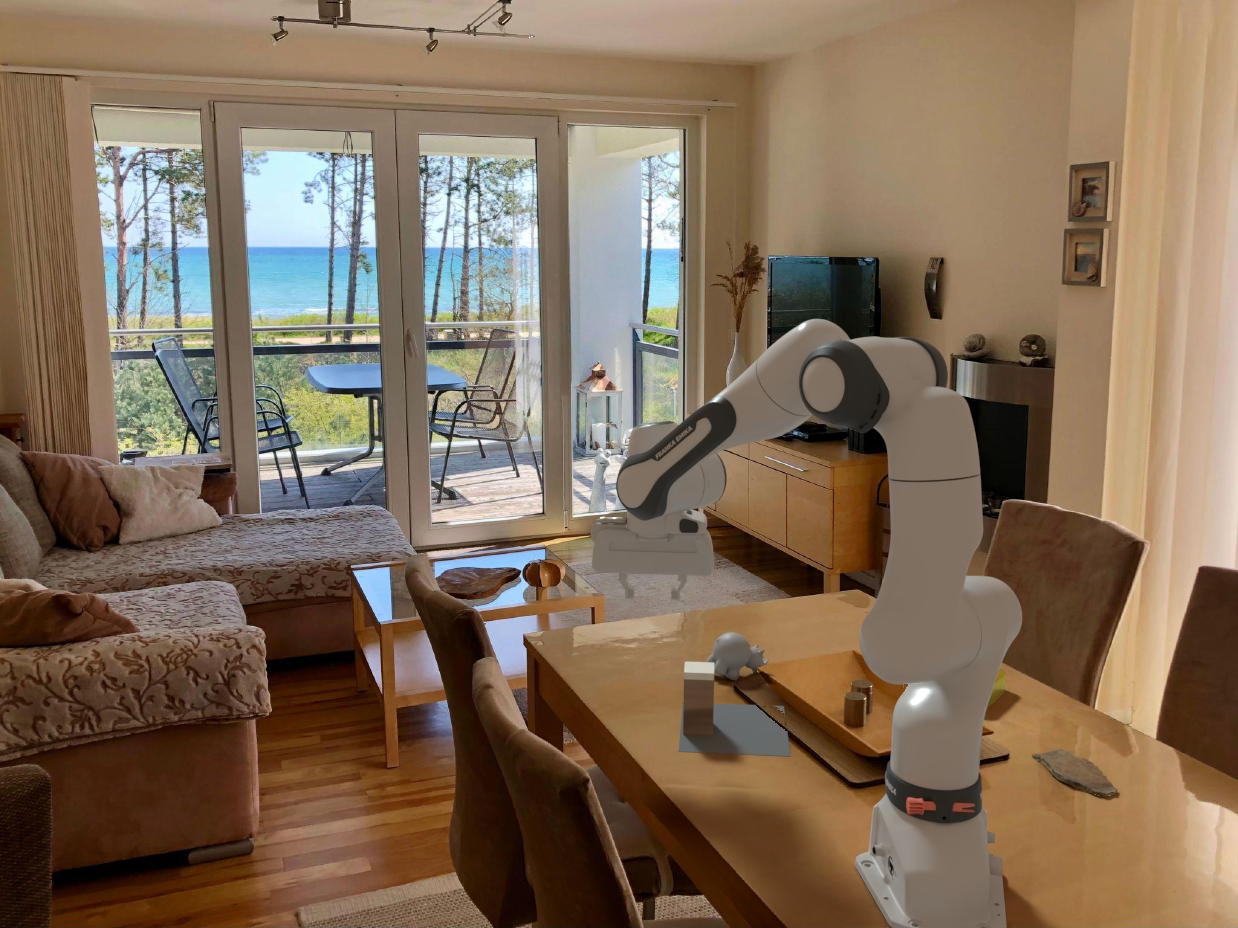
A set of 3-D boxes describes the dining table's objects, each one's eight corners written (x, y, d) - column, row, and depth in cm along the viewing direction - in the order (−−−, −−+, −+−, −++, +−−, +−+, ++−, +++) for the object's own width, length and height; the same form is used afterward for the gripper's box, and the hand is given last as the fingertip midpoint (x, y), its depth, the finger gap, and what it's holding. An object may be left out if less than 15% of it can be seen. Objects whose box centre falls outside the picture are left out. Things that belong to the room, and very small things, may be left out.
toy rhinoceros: (766, 693, 210) (783, 652, 209) (712, 676, 206) (729, 635, 205) (751, 678, 217) (768, 639, 216) (699, 662, 213) (715, 622, 212)
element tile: (979, 717, 194) (981, 692, 193) (899, 696, 203) (900, 672, 202) (1008, 691, 205) (1009, 667, 205) (930, 673, 214) (932, 649, 214)
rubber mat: (790, 759, 177) (790, 756, 177) (678, 754, 178) (678, 751, 178) (783, 708, 196) (783, 706, 196) (682, 704, 198) (682, 702, 198)
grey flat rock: (1067, 753, 180) (1068, 743, 180) (1128, 799, 165) (1129, 788, 165) (1024, 757, 179) (1024, 747, 178) (1080, 803, 164) (1081, 792, 163)
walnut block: (712, 735, 184) (714, 673, 182) (683, 734, 184) (684, 672, 182) (713, 723, 189) (714, 662, 187) (684, 721, 189) (684, 661, 187)
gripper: (588, 521, 178) (588, 602, 181) (714, 524, 177) (713, 606, 179) (592, 512, 184) (592, 591, 187) (715, 515, 183) (713, 594, 185)
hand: (652, 598), depth 183 cm, fingers open, 6 cm apart
